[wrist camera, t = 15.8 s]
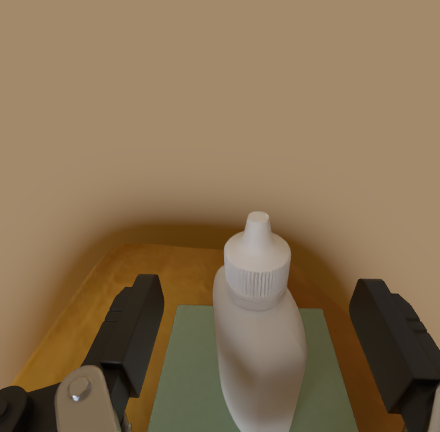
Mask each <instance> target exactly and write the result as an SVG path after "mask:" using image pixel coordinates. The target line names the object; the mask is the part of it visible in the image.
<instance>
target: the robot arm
mask: <svg viewBox="0 0 440 432" xmlns="http://www.w3.org/2000/svg"><path fill="white" fill-rule="evenodd" d="M163 311H164V296H163V292H162V288H161V284H160V280H159V277H158V275H156V274H139V275H138V276H137V278H136V280H135V282H134V284H133V286H132V287H125V288H124V289H123V290H122V291H121V292H120V293H119V294H118V295H117V296H116V297H115V299H114V301H113V303H112V305H111V307H110V311H109V312H108V313H107V315H106V317H105V321H104V322H103V323H102V325H101V328H100V330H99V332H98V334H97V336H96V338H95V340H94V342H93V344H92V346H91V348H90V350H89V352H88V354H87V356H86V358H85V360H84V362H83V363H82V365H81V366H80V367H79V368H77V369H75V370H74V371H72V372H71V373H70V374H69V375H67V376H66V377H65V379H64V380H63V381H62V382H60V383H58V384H55V385H51V386H48V387H45V388H41V389H38V390H35V391H31V392H28V393H27V392H26V391H25V390H24V389H23V388H21V387H19V386H9V387H6V388H3V389H1V390H0V432H131V429H130V426H129V422H128V419H127V416H126V412H125V409H126V406H127V402H128V399H129V397H133V398H139V396H140V392H141V389H142V385H143V382H144V378H145V375H146V371H147V368H148V364H149V361H150V357H151V354H152V350H153V347H154V343H155V340H156V336H157V333H158V329H159V326H160V322H161V319H162V315H163ZM349 312H350V317H351V320H352V323H353V326H354V328H355V331H356V333H357V336H358V338H359V341H360V343H361V346H362V349H363V351H364V354H365V356H366V359H367V361H368V364H369V366H370V369H371V371H372V374H373V377H374V379H375V382H376V384H377V387H378V389H379V392H380V394H381V397H382V400H383V402H384V405H385V407H386V410H387V412H388V413H391V414H401V415H402V418H403V420H404V422H405V425H404V427H403V430H402V432H440V350H439V348H438V347H437V346H436V344H435V342H434V341H433V339H432V337H431V336H430V334H429V333H427V330H426V328H425V327H424V325H423V323H422V322H420V319H419V317H418V315H417V314H416V312H415V311H414V309H413V308H412V306H411V305H410V304H409V303H408V302H407V301H405V300H404V299H403V298H402V297H401V296H400V295H399V294H392V293H390V291H389V289H388V287H387V286H386V284H385V282H384V281H383V280H381V279H359V280H358V282H357V285H356V287H355V290H354V293H353V296H352V298H351V301H350V305H349Z"/></svg>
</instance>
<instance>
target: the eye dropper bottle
mask: <svg viewBox="0 0 440 432" xmlns="http://www.w3.org/2000/svg"><path fill="white" fill-rule="evenodd" d="M290 260H291V251H290V248H289V246H288V244H287V243H286V241H285V240H283V239H282V238H281V237H280V236H278V235H276V234H274V233H272V232H271V227H270V221H269V216H268V214H266V213H264V212H260V211H256V212H252V213H250V214H249V215H248V218H247V222H246V227H245V231H243V232H240V233H238V234H236V235H234V236H233V237H231V238H230V239H229V240H228V242H227V243H226V244H225V247H224V266H222V267H220V269H219V270H218V271H217V273H216V276H215V279H214V284H213V309H214V321H215V331H216V342H217V353H218V363H219V374H220V381H221V387H222V391H223V395H224V398H225V401H226V404H227V407H228V409H229V412H230V414H231V416H232V418H233V420H234V422H235V423H236V425H237V427H238V428H239V430H240V431H241V432H289V430H290V427H291V423H292V419H293V415H294V411H295V408H296V404H297V400H298V396H299V392H300V388H301V384H302V380H303V376H304V371H305V367H306V362H307V343H306V336H305V331H304V326H303V322H302V319H301V316H300V313H299V310H298V308H297V305H296V303H295V301H294V299H293V297H292V295H291V293H290V291H289V290H288V288H287V282H288V275H289V268H290Z"/></svg>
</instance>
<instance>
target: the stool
mask: <svg viewBox="0 0 440 432" xmlns="http://www.w3.org/2000/svg"><path fill="white" fill-rule="evenodd" d="M298 310H299V313H300V316H301V319H302V322H303V326H304V331H305V336H306V343H307V362H306V367H305V371H304V376H303V380H302V384H301V388H300V392H299V396H298V400H297V404H296V408H295V411H294V415H293V419H292V423H291V427H290V430H289V432H359V431H358V428H357V424H356V421H355V418H354V414H353V411H352V407H351V404H350V401H349V397H348V394H347V391H346V387H345V384H344V381H343V377H342V374H341V371H340V367H339V364H338V360H337V357H336V354H335V350H334V347H333V344H332V340H331V337H330V334H329V330H328V327H327V324H326V320H325V317H324V313H323V310H322V309H312V308H298ZM147 432H241V431H240V430H239V428H238V427H237V425H236V423H235V422H234V420H233V418H232V416H231V414H230V412H229V409H228V407H227V404H226V401H225V398H224V395H223V391H222V387H221V381H220V374H219V363H218V353H217V342H216V331H215V321H214V309H213V306H205V305H178V306H177V311H176V315H175V319H174V323H173V327H172V331H171V335H170V339H169V344H168V348H167V352H166V356H165V360H164V364H163V368H162V372H161V377H160V381H159V385H158V389H157V393H156V397H155V401H154V406H153V410H152V414H151V418H150V422H149V426H148V430H147Z"/></svg>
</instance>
